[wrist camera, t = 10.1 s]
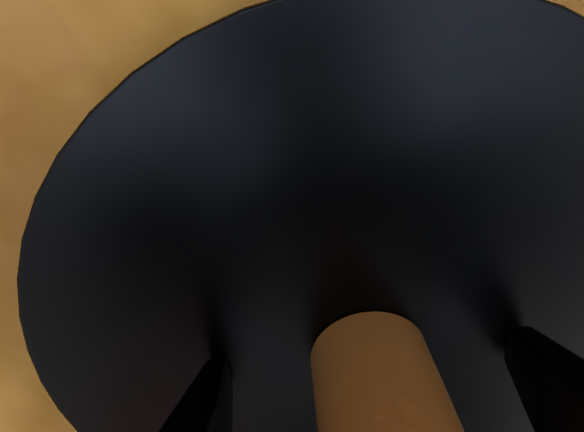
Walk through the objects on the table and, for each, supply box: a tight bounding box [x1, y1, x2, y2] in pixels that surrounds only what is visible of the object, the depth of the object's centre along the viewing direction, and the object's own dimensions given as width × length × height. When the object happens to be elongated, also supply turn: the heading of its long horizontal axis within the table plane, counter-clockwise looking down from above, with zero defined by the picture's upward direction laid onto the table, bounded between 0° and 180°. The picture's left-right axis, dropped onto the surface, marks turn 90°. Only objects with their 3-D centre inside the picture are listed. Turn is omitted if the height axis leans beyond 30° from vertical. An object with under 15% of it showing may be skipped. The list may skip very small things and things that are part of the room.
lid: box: [17, 0, 584, 432], centre depth 8 cm, size 15×15×5 cm
